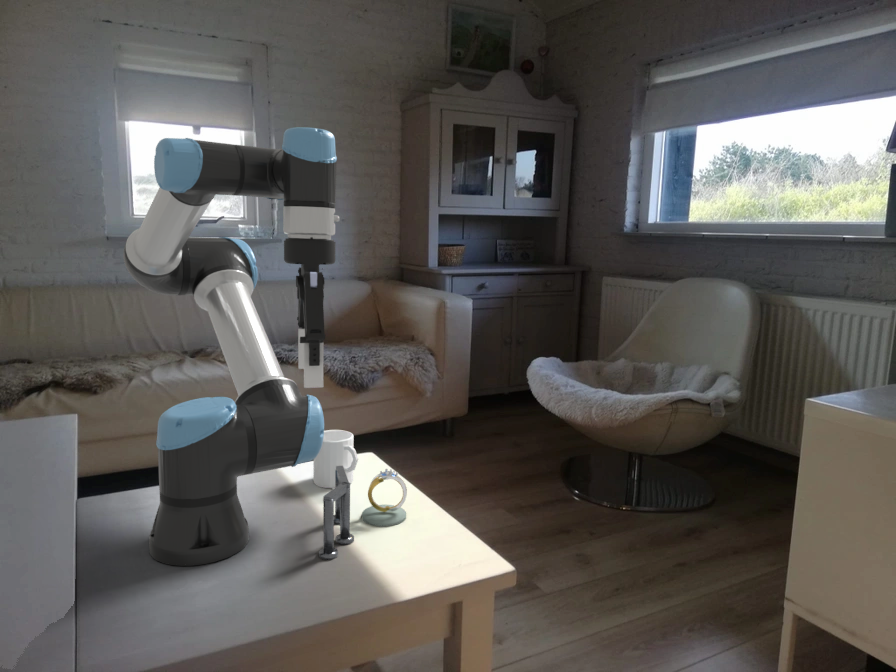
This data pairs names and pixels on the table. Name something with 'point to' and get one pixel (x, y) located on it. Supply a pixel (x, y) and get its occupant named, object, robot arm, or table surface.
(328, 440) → the mug
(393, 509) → the ring
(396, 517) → the felt coaster
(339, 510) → the bent grey rail
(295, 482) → the table surface
